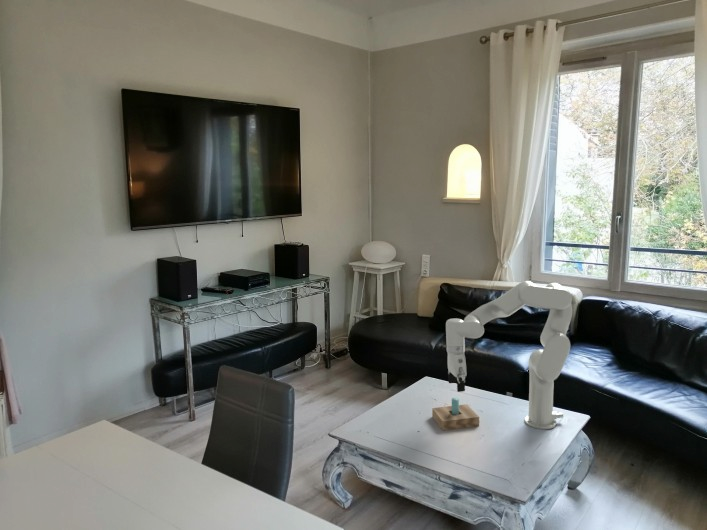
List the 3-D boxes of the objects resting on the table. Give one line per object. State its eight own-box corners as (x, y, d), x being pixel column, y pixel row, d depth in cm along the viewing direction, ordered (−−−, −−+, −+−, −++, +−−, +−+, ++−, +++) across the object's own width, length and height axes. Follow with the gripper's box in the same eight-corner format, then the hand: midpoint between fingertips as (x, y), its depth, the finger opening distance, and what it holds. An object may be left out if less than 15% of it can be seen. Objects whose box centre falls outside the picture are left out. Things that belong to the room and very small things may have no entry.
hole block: (466, 412, 239) (466, 404, 238) (479, 425, 226) (479, 416, 225) (432, 416, 236) (432, 408, 235) (442, 430, 223) (442, 421, 222)
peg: (457, 419, 233) (457, 397, 231) (459, 422, 230) (460, 400, 228) (450, 420, 232) (450, 398, 230) (453, 423, 229) (453, 401, 228)
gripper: (472, 353, 218) (473, 393, 221) (456, 341, 235) (457, 378, 237) (454, 355, 216) (455, 396, 219) (439, 343, 233) (441, 380, 236)
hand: (456, 386), depth 228 cm, fingers open, 9 cm apart
